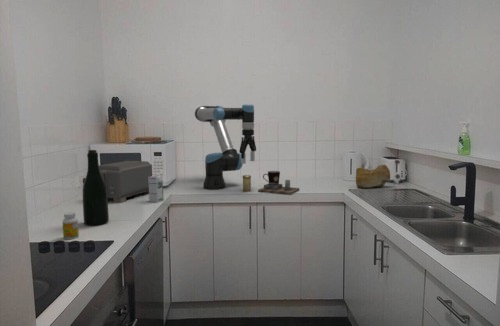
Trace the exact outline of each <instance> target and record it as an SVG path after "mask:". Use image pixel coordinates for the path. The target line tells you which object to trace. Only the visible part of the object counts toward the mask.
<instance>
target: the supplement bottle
mask: <svg viewBox="0 0 500 326" xmlns="http://www.w3.org/2000/svg"><path fill="white" fill-rule="evenodd" d="M63 218H64V219H62V230H63V231H62V234H63V239H65V240H75V239H77V238H78V237H79V235H80V234H79V232H80V231H79V220H78V218H77V217H76V212H75V211H73V212H72V211H70V212H65V213H64V214H63Z"/></svg>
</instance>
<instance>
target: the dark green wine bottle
mask: <svg viewBox="0 0 500 326" xmlns="http://www.w3.org/2000/svg"><path fill="white" fill-rule="evenodd" d="M87 152H88V153H87V154H86V155H87V157H86V158H87V171H86V175H85V178H84V182H83V184H82V213H83V214H82V216H83V223H84V225H86V226H100V225H104V224H107V223H108V222H109V220H110V217H109V202H108V199H109V198H107V189H106V184H105V182H104V180H103V177H102V175H101V173H100V170H99V153H98V152H97V149H89V150H87Z"/></svg>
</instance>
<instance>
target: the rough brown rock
mask: <svg viewBox="0 0 500 326" xmlns="http://www.w3.org/2000/svg"><path fill="white" fill-rule="evenodd" d="M389 180H391V171H390V168H389V167H388V166H387V165H386V164H381V165H378V166H377V167H376V168H374V169H371V170H369V169H367V168H365V167H357V168H356V170H355V184H356V186H357V188H360V189H364V188H366V189H370V188H371V189H372V188H374V187H377V188H384V186H385V184H386V183H387V182H388V181H389Z"/></svg>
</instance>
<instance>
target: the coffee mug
mask: <svg viewBox="0 0 500 326" xmlns="http://www.w3.org/2000/svg"><path fill="white" fill-rule="evenodd" d="M265 176H267V178H268V180H267V179H266V178H265ZM280 176H281V171H280V170H269V171H267V173H264V174H263V175H262V178H263V180H265V181H266V182H267V183H276V184H280Z"/></svg>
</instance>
